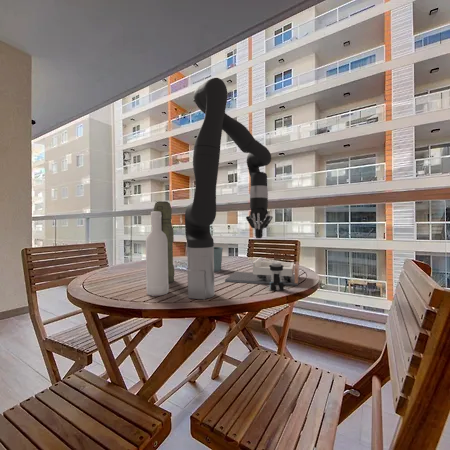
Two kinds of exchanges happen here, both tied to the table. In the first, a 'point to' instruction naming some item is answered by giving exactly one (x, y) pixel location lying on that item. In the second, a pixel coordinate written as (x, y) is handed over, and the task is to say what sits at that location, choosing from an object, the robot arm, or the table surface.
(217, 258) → the drinking glass
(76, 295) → the table surface
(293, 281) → the grey piece
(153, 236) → the bottle
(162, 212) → the thermos
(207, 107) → the robot arm
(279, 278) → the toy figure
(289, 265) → the cart
